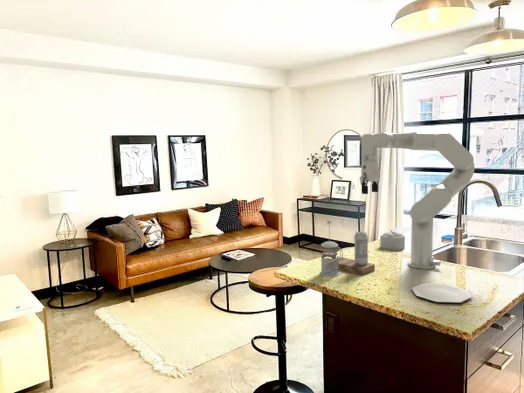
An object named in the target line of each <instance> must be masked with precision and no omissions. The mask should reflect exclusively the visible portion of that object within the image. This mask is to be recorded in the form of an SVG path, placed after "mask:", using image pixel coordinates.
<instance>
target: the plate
mask: <svg viewBox="0 0 524 393" xmlns="http://www.w3.org/2000/svg"><path fill="white" fill-rule="evenodd" d="M411 290H412V292H413V294H414V295H415V297H417V298H421V299H423V300H427V301H430V302H433V303H437V304H438V303H442V304H443V303H444V304H461V303H463V302H465V301H468V300H471V299H472V296H471V295H470V294H469V293H468V292H467V290H466V289H465V288H462V287H458V286H454V285H450V284H446V283H432V282H431V283H426V282H425V283H421V284H418V285H415V286H412V288H411Z"/></svg>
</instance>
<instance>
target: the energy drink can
mask: <svg viewBox="0 0 524 393" xmlns="http://www.w3.org/2000/svg"><path fill="white" fill-rule="evenodd" d="M353 239H354V260H355V263H356V264H357V265H366V264H367V263H369V260H368V259H369V258H368V257H369V254H368V253H369V249H368V248H369V243H368V241H369V238H368V234H367V232H366V231H356V232H355V235H354V238H353Z"/></svg>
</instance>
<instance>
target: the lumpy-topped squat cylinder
mask: <svg viewBox="0 0 524 393" xmlns="http://www.w3.org/2000/svg"><path fill="white" fill-rule="evenodd" d="M379 237H380V239H379V241H380V243H379V244H380V246H379V247H381V249H383V250H392V251H400V249H402V250H405V248H406V246H405V245H406V241H405V240H406V238H405V235H404V234H402V233H400V232H396V231H386V232H384V233H382V234H380V236H379Z"/></svg>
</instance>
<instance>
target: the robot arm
mask: <svg viewBox="0 0 524 393" xmlns="http://www.w3.org/2000/svg"><path fill="white" fill-rule="evenodd" d="M378 148H380V149H381V148H382V149H406V150H411V151H429V152H430V151H431V152H439V154H440V155H441V156H442V157H444V159H446V160H447V161H448V162H449V163H450V164H451V165H452V166H453V169H452V171H450V173H449V174H448V175H447V176H445V178H444V179H443V180H441V181H440V182H439V183H438V184H436V185H435V186H433V187H432V188H431V189H430V190H429V192H428V193H426V194H425V195H423V197H421V198H420V200H418V201H416V202H414V204H412V207H411V208H410V211H409V213H410V214H409V215H410V218H411V228H410V230H411V234H410V236H411V238H410V239H411V240H410V241H411V242H410V260H408V261H407V265H408V266H409V267H411V268H415V269H422V270H424V269H425V270H429V269H434V268H436V266H439V267H440V266H441V260H437V259H436V258H435V256H433V248H434V247H433V242H434V241H433V240H434V238H433V237H434V236H433V234H434V218H435V217H436V216H437V215H438V214H440V213H441V211H442V212H443V210H444V209H446V208H447V206H449V205H450V203H451V201H452V199H453V198H454V197H455V196H456V195H457V194H458V193H459V192H460V191H461V190H462V189H464V188H465V187H466V186H467V185H468V184H469V183H470V181H471V179H472V178H473V176H474V173H475V160H474V156H473V154H472V153H471V152H470V151H469V150H468V149H467V148H466V147H464V145H462V144H461V142H460V141H458V140H457V139H456V138H455V137H454V136H453V134H451V133H450V132H447V131H443V132H442V131H441V132H437V131H436V132H433V131H432V132H429V131H414V132H407V133H406V132H405V133H401V132H400V133H397V132H395V133H394V132H384V131H383V132H379V133H363V134H362V135H361V162H362V163H361V172H360V174H361V175H360V177H359V181H360V182H359V183H360V186H361V194H362V195H368V194H369V185H368V184H369V183H372V184H371V192H372V193H378V192H379V181H380V170H379V169H380V168H379V162H378Z"/></svg>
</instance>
